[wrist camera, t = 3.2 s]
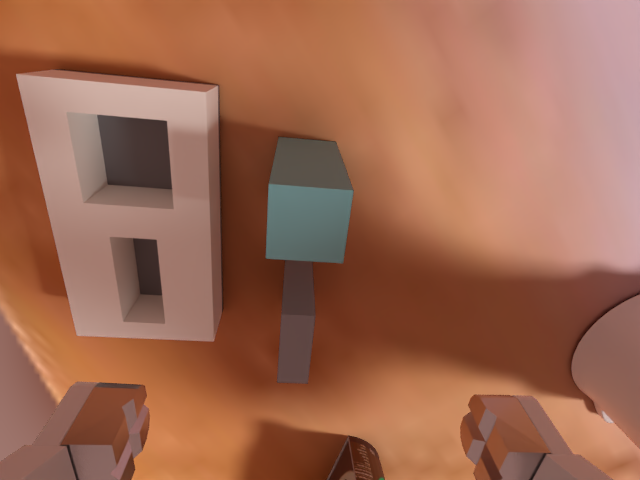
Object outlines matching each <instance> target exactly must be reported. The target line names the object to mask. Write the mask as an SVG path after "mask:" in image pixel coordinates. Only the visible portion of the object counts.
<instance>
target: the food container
mask: <svg viewBox="0 0 640 480" xmlns="http://www.w3.org/2000/svg"><path fill="white" fill-rule="evenodd" d="M327 480H385V478H384V474H383V471H382V467H381V463H380V460H379V456H378V453H377V451H376V450H375V448H374V447H373V446H372V445H371V444H369V443H368V442H366V441H364V440H362V439H360V438H357V437H353V436H348V437H347V439H346V441H345V444H344V446H343V448H342V450H341V452H340V454H339V456H338V458H337V460H336V462H335V464H334V466H333V468H332V470H331V472H330V474H329V476H328V478H327Z"/></svg>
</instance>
